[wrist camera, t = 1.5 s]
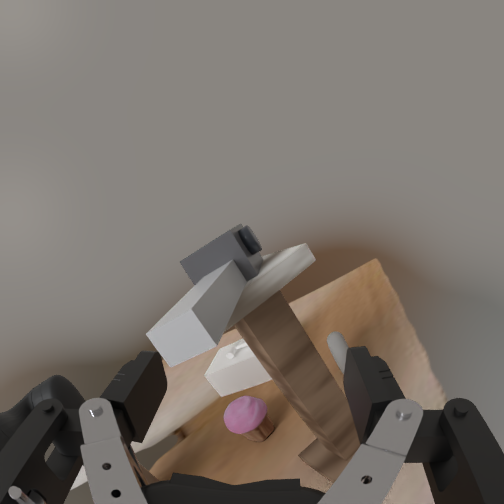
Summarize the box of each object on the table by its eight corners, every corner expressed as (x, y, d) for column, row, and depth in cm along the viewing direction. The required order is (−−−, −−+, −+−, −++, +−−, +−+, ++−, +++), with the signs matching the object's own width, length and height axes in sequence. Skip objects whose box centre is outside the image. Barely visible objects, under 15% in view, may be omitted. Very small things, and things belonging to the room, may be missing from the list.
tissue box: (234, 369, 88) (215, 343, 87) (304, 340, 81) (285, 310, 80) (221, 397, 74) (199, 369, 73) (302, 368, 67) (280, 335, 66)
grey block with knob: (252, 328, 15) (199, 247, 14) (153, 375, 16) (106, 308, 16) (270, 255, 34) (248, 218, 34) (219, 285, 36) (197, 250, 35)
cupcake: (289, 420, 50) (263, 388, 49) (266, 453, 44) (236, 421, 43) (259, 418, 56) (233, 387, 55) (236, 446, 50) (208, 416, 49)
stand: (303, 461, 38) (182, 309, 35) (352, 413, 43) (256, 258, 39) (349, 493, 27) (206, 316, 24) (404, 432, 32) (306, 243, 29)
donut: (365, 379, 49) (345, 342, 48) (349, 387, 50) (328, 351, 49) (353, 355, 59) (335, 321, 58) (340, 362, 60) (320, 329, 59)
